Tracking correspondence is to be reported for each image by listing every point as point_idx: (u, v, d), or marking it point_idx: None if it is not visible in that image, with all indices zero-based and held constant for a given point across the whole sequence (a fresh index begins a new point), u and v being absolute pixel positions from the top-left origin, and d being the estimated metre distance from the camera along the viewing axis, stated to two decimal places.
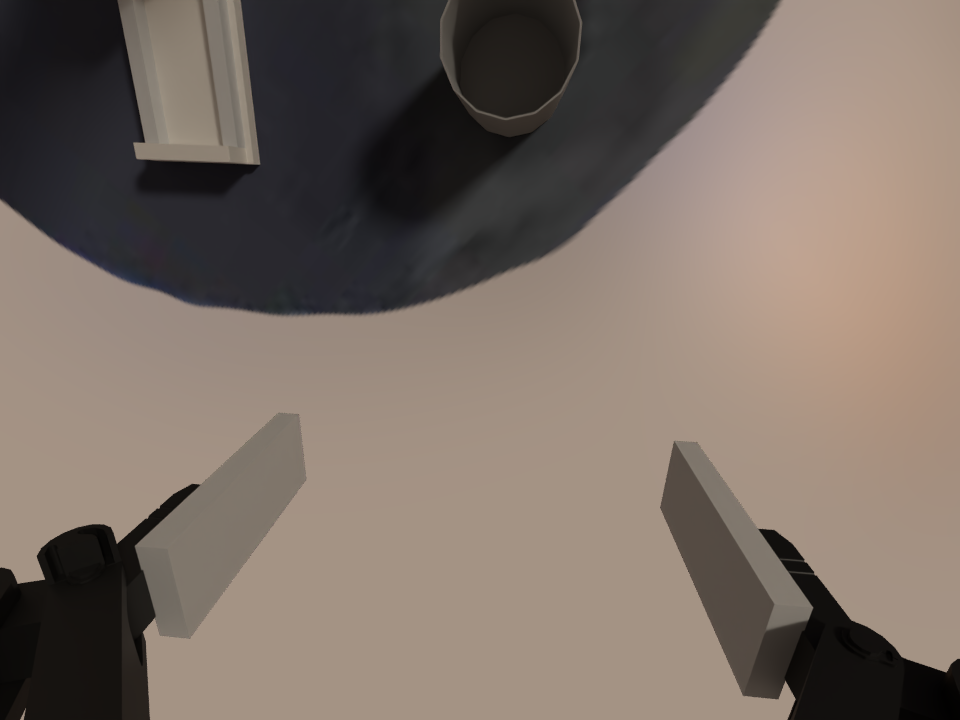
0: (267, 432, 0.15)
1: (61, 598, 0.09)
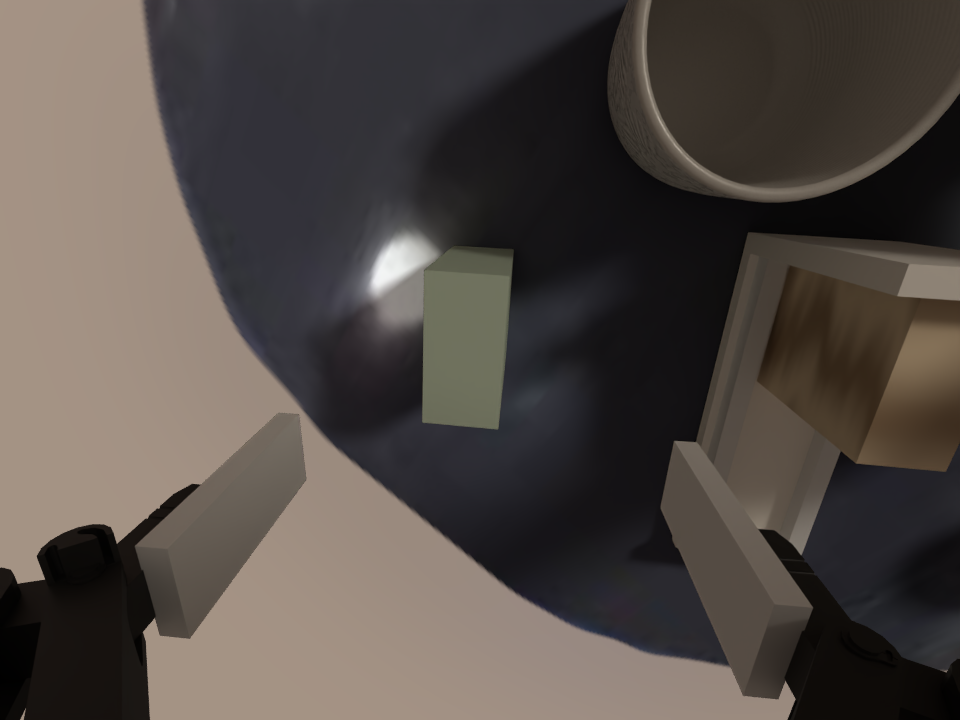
0: (267, 432, 0.15)
1: (61, 598, 0.09)
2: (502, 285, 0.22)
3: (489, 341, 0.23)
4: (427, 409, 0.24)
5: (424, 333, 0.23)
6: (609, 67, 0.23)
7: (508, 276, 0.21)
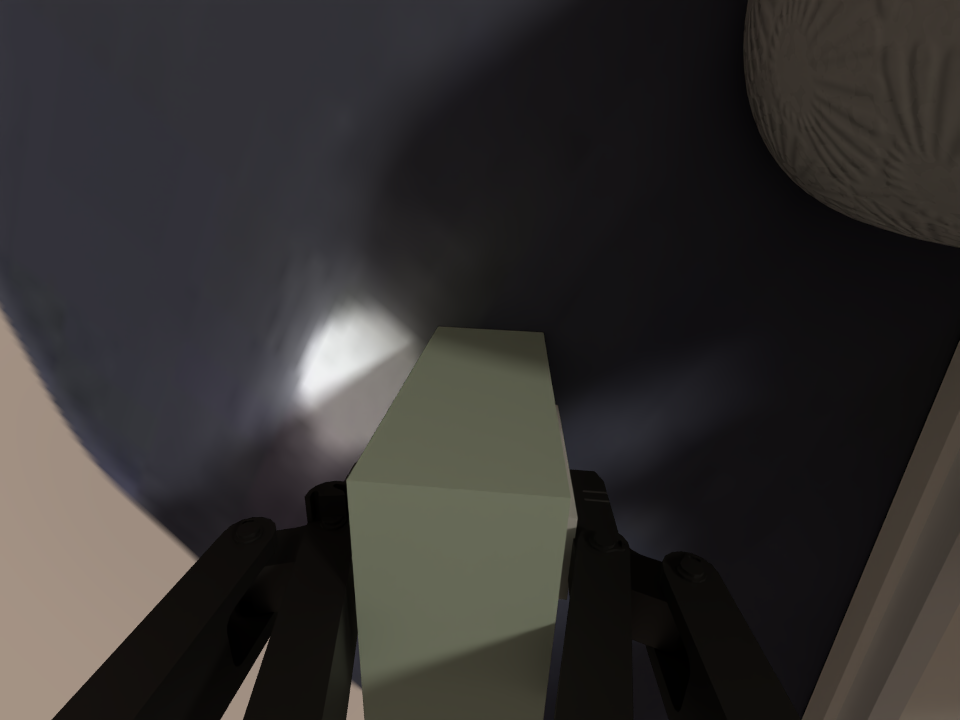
0: None
1: (313, 537, 0.11)
2: (551, 518, 0.08)
3: (516, 629, 0.09)
4: None
5: (358, 609, 0.09)
6: None
7: (567, 497, 0.08)
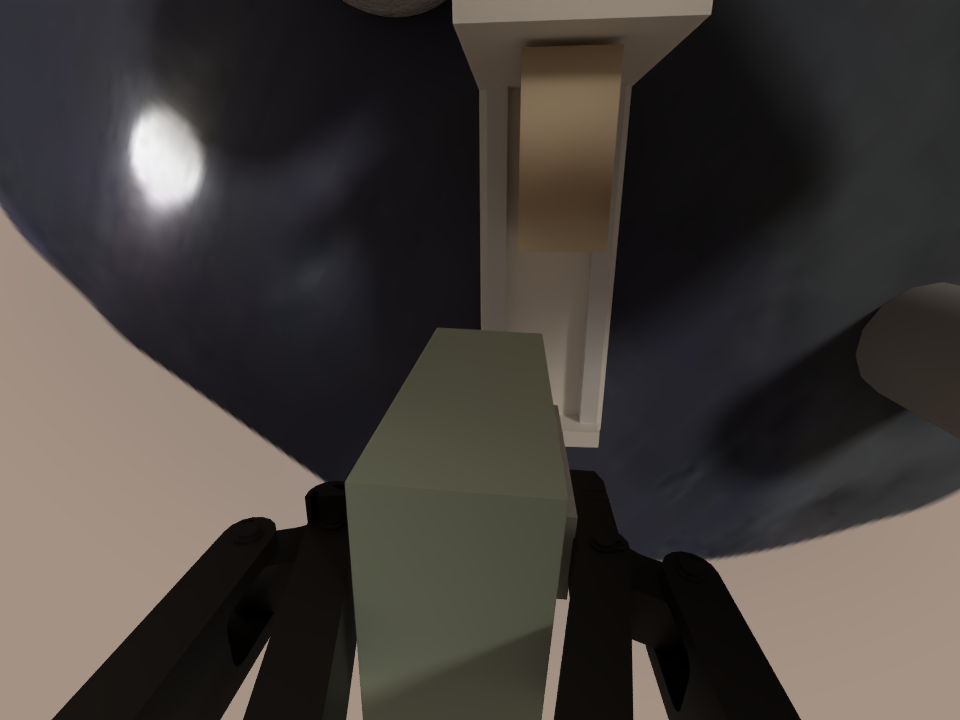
0: None
1: (313, 537, 0.11)
2: (548, 520, 0.08)
3: (513, 631, 0.09)
4: None
5: (357, 611, 0.09)
6: None
7: (564, 499, 0.08)
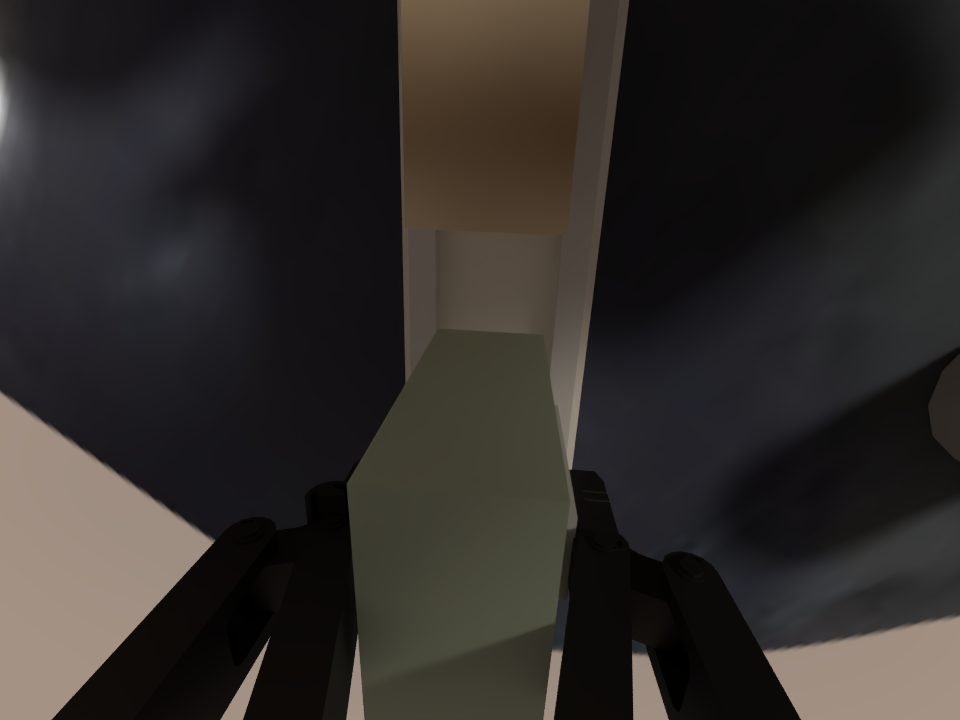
0: None
1: (313, 537, 0.11)
2: (550, 521, 0.08)
3: (515, 632, 0.09)
4: None
5: (359, 612, 0.09)
6: None
7: (566, 501, 0.08)
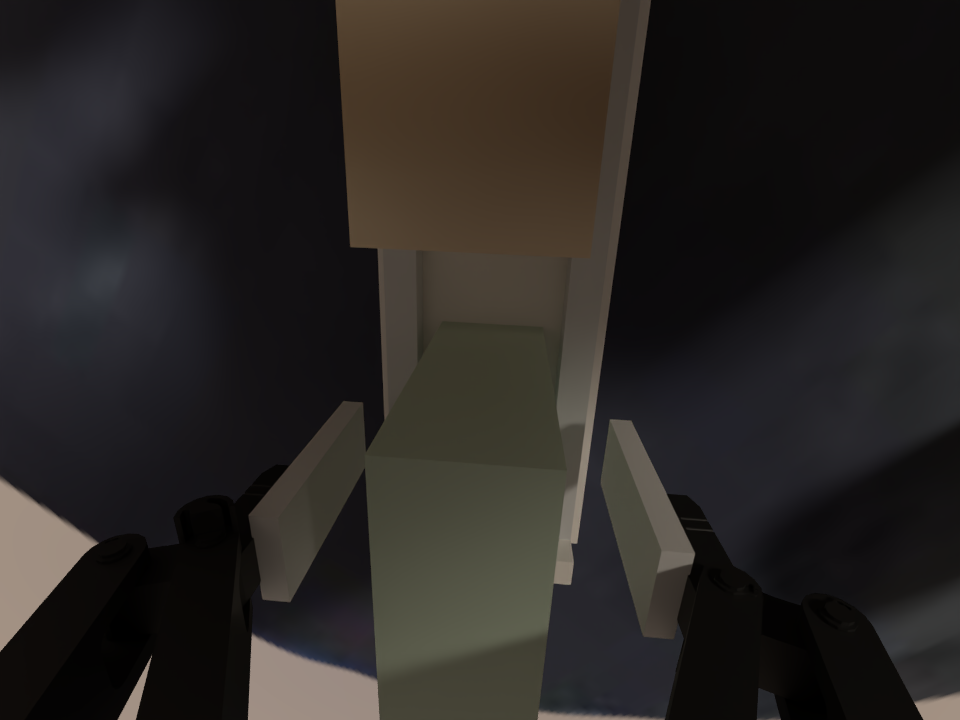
0: (338, 418, 0.16)
1: (189, 558, 0.10)
2: (549, 489, 0.09)
3: (517, 593, 0.10)
4: (389, 703, 0.12)
5: (373, 576, 0.10)
6: None
7: (563, 470, 0.09)
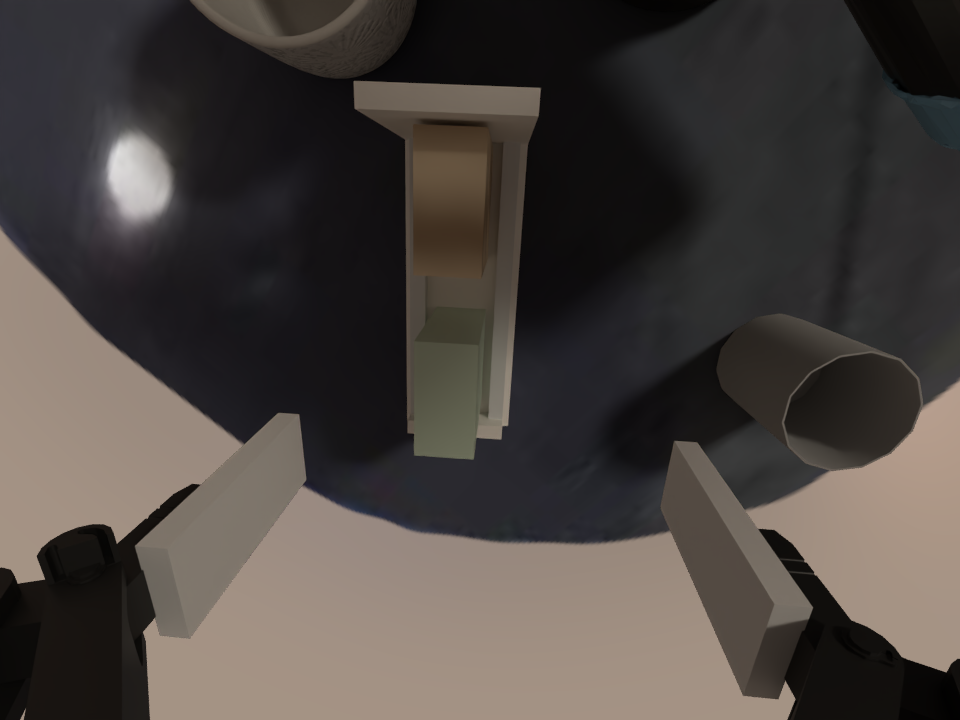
0: (267, 432, 0.15)
1: (61, 598, 0.09)
2: (473, 352, 0.29)
3: (464, 393, 0.29)
4: (418, 445, 0.31)
5: (414, 387, 0.30)
6: None
7: (477, 345, 0.28)
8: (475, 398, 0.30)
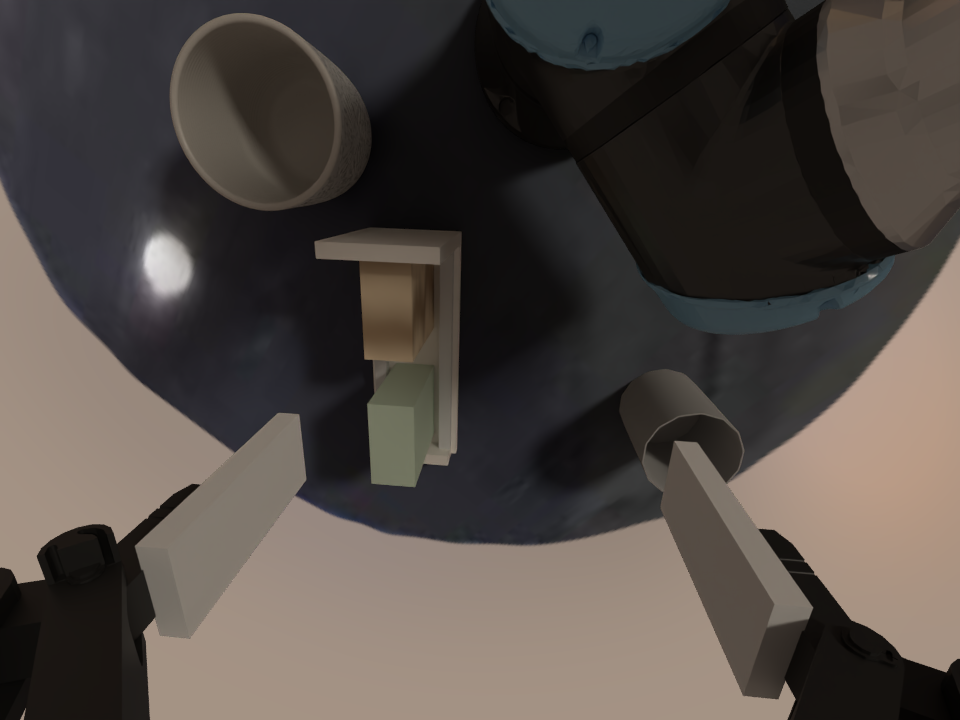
0: (267, 432, 0.15)
1: (61, 598, 0.09)
2: (410, 411, 0.39)
3: (405, 440, 0.40)
4: (374, 476, 0.42)
5: (369, 436, 0.40)
6: None
7: (413, 407, 0.39)
8: (413, 444, 0.40)
